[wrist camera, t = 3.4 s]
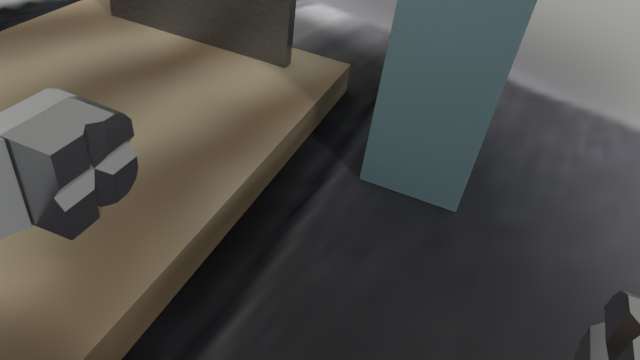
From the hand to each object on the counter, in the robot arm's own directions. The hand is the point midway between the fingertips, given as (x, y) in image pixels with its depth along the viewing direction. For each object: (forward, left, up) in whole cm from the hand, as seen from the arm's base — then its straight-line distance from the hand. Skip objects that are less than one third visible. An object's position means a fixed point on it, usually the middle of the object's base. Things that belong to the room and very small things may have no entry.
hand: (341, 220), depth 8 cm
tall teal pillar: (0, -14, -7) cm, 15 cm away
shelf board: (+12, -7, -7) cm, 16 cm away
